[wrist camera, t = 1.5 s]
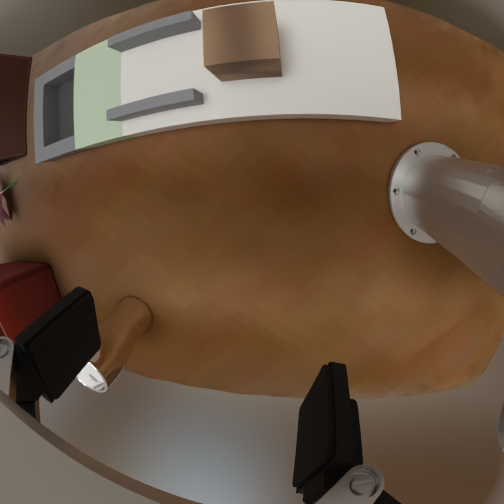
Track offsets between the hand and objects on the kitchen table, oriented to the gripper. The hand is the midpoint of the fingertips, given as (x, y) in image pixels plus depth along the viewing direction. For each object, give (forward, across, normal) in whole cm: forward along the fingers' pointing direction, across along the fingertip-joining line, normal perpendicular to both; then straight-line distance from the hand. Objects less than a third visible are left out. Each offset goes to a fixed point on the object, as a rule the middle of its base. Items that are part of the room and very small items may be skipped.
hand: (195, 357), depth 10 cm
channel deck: (+24, +13, -15) cm, 31 cm away
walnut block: (+20, +5, -17) cm, 27 cm away
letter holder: (+23, +50, -11) cm, 56 cm away
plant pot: (+23, +42, +25) cm, 54 cm away
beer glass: (+24, +17, +20) cm, 36 cm away
